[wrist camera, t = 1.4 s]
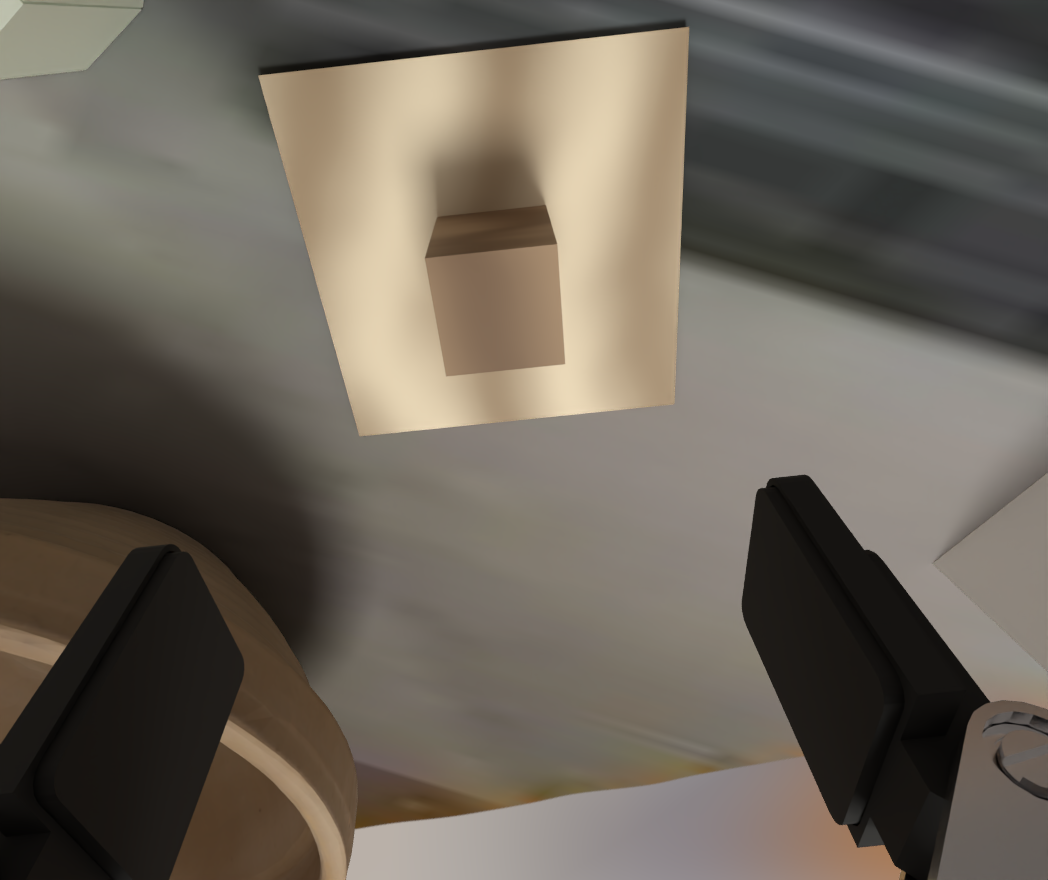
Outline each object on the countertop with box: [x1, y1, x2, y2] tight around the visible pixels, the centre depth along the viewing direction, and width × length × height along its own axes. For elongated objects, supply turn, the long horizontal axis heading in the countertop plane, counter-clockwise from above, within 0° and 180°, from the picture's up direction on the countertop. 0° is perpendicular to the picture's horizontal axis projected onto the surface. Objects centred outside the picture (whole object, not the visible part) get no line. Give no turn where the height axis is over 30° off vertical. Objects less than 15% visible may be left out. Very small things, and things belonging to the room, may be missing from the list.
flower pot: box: [0, 498, 358, 880], centre depth 28 cm, size 28×28×13 cm
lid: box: [259, 27, 689, 436], centre depth 23 cm, size 14×14×6 cm
